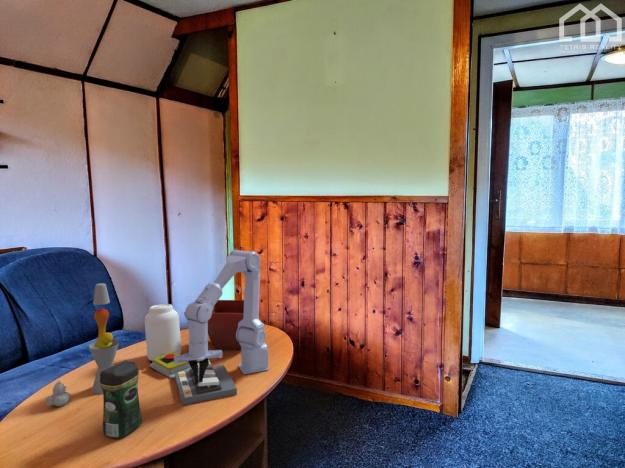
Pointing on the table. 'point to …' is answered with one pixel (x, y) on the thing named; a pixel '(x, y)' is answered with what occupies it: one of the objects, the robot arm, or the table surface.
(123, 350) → the table surface
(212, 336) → the plant pot
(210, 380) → the rocker
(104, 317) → the lava lamp
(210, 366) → the rocker
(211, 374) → the rocker
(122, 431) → the coffee jar
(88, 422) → the table surface
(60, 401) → the rubber duck
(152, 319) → the white jar
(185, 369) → the emergency button
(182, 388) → the panel
